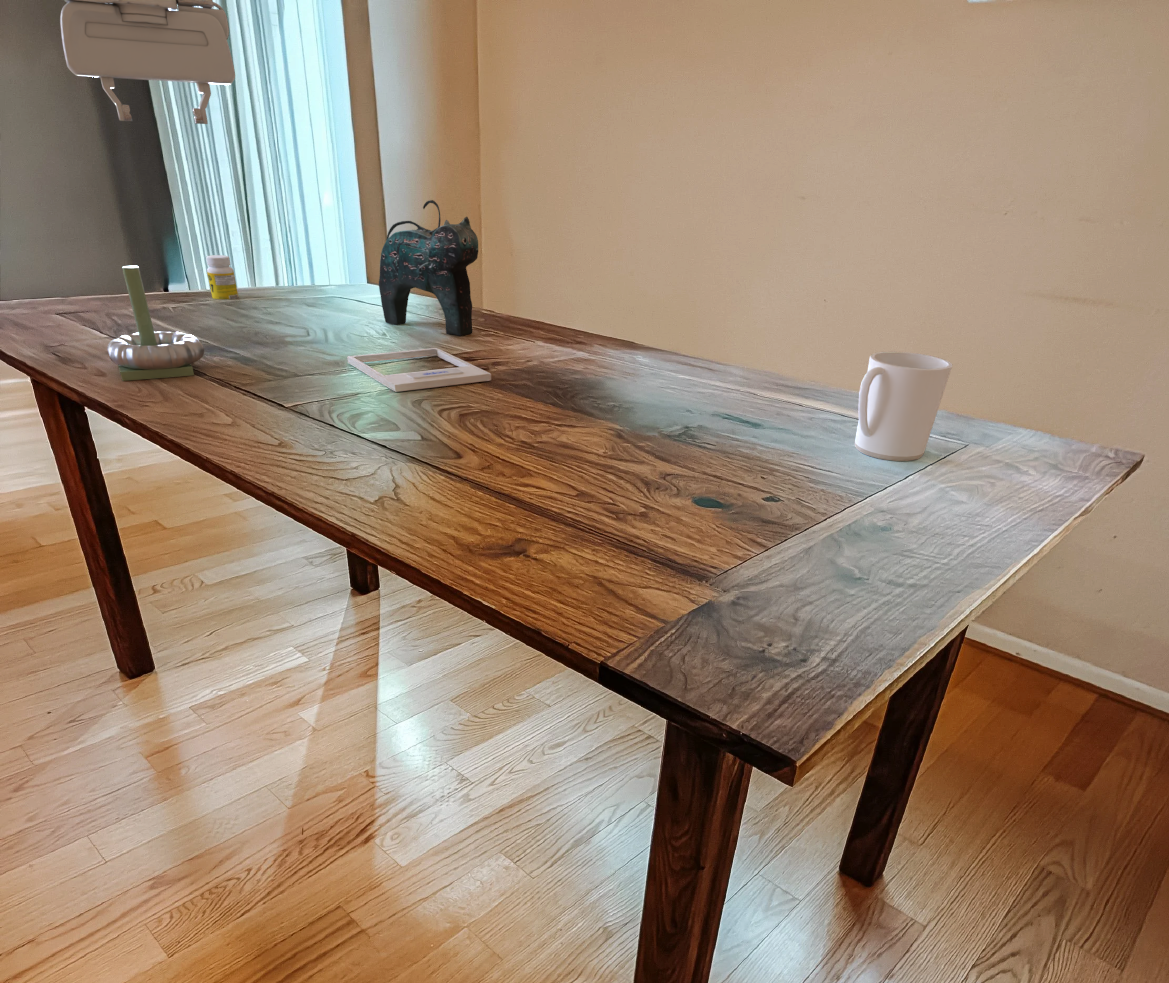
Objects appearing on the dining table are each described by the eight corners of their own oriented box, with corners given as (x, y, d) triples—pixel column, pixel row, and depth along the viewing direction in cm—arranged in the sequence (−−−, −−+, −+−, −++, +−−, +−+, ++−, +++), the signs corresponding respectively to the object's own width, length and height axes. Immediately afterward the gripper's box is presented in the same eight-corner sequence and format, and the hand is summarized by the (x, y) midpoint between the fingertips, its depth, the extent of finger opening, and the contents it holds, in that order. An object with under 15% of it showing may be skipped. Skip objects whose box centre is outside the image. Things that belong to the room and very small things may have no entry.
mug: (888, 435, 103) (910, 349, 97) (943, 457, 96) (970, 366, 91) (821, 445, 98) (839, 355, 93) (874, 468, 92) (897, 374, 86)
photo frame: (394, 383, 109) (346, 355, 122) (395, 391, 110) (347, 362, 122) (490, 372, 116) (436, 346, 129) (491, 380, 117) (437, 353, 129)
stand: (122, 381, 110) (93, 272, 102) (117, 366, 116) (90, 263, 109) (194, 375, 113) (171, 270, 106) (186, 361, 120) (163, 261, 113)
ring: (114, 375, 108) (108, 351, 106) (108, 355, 116) (102, 332, 115) (211, 367, 113) (206, 344, 111) (198, 349, 121) (193, 327, 120)
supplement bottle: (214, 303, 158) (204, 254, 153) (240, 303, 159) (231, 254, 154) (213, 307, 154) (203, 258, 149) (239, 307, 155) (230, 258, 150)
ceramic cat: (484, 334, 144) (480, 203, 133) (461, 339, 139) (455, 204, 128) (398, 318, 152) (387, 194, 141) (374, 324, 147) (361, 195, 136)
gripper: (220, 1, 110) (240, 125, 117) (45, -17, 101) (79, 118, 109) (228, -4, 105) (248, 126, 113) (45, -22, 97) (81, 119, 104)
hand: (164, 122), depth 111 cm, fingers open, 8 cm apart
